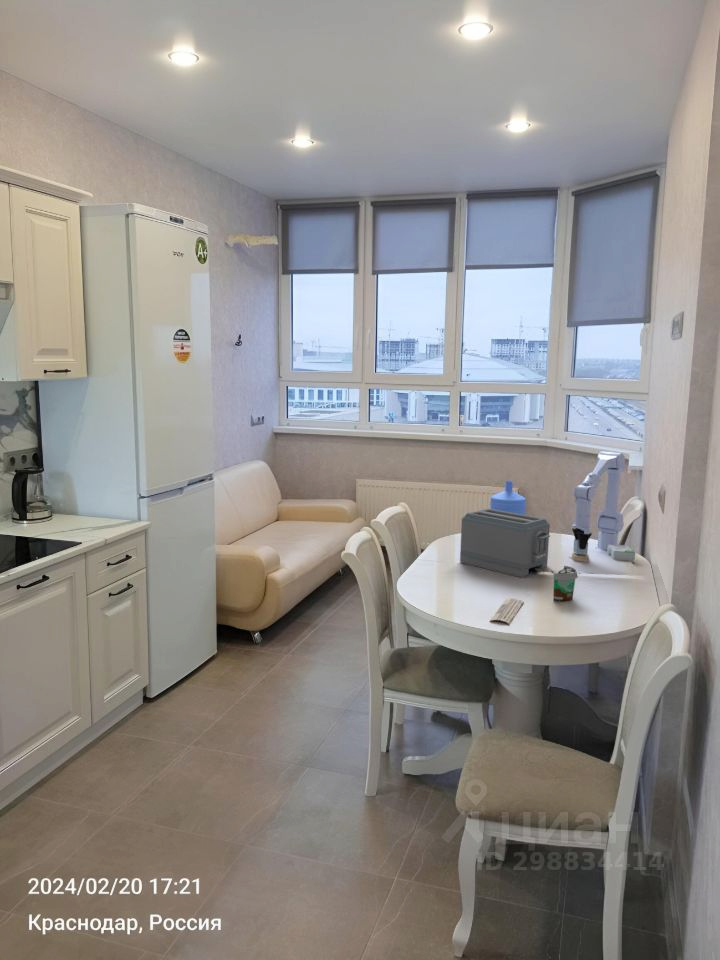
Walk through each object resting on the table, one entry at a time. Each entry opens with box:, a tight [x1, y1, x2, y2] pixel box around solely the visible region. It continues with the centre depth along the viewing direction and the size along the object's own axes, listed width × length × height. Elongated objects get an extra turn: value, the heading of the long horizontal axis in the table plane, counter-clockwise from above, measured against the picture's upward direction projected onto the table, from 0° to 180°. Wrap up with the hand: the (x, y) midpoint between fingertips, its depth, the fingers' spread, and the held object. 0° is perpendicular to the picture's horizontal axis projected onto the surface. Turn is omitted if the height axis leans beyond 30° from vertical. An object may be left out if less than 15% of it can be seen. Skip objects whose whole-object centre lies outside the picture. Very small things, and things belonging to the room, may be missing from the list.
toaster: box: [459, 508, 551, 579], centre depth 286 cm, size 19×33×20 cm, turn 46°
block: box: [572, 539, 589, 554], centre depth 296 cm, size 4×4×5 cm
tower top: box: [571, 552, 590, 563], centre depth 296 cm, size 6×6×2 cm
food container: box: [552, 565, 578, 603], centre depth 248 cm, size 12×6×10 cm, turn 148°
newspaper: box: [489, 598, 524, 625], centre depth 234 cm, size 24×7×2 cm, turn 157°
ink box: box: [606, 544, 636, 564], centre depth 303 cm, size 9×5×12 cm
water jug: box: [489, 480, 527, 515], centre depth 325 cm, size 16×16×28 cm
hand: (580, 547), depth 296 cm, fingers closed on block, 4 cm apart
